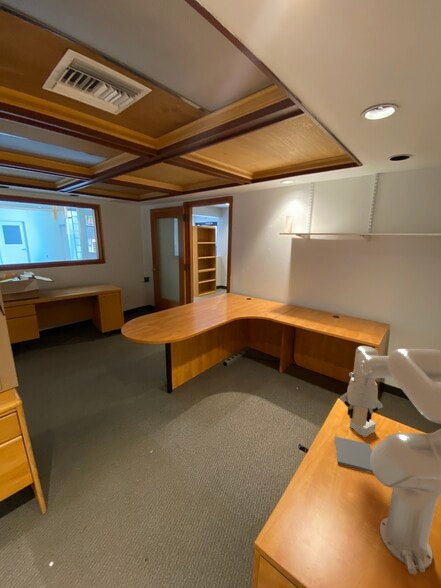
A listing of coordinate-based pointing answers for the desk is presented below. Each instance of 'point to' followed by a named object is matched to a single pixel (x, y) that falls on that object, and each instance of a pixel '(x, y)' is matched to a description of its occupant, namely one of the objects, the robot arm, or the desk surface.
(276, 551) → the desk surface
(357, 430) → the small box
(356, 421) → the candle
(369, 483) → the desk surface
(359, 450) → the slate coaster
